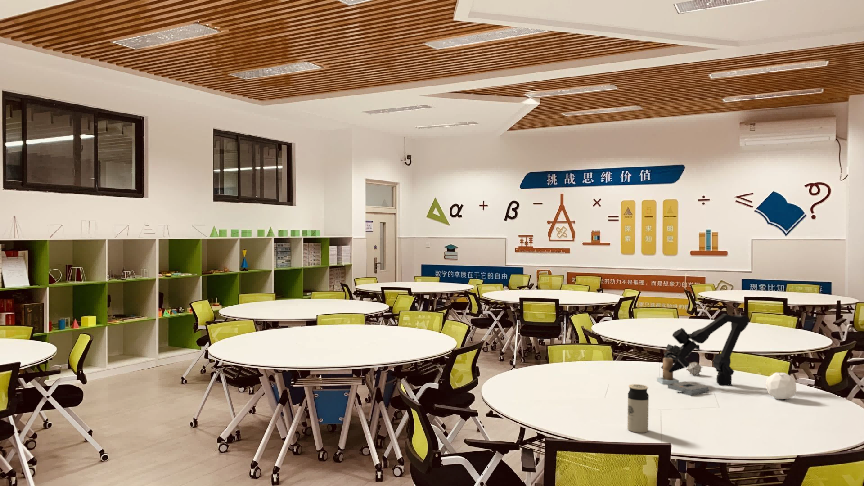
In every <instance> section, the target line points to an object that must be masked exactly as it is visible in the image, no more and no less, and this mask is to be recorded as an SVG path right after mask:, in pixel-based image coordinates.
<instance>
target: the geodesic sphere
mask: <svg viewBox="0 0 864 486" xmlns="http://www.w3.org/2000/svg"><path fill="white" fill-rule="evenodd" d="M765 387H766V390H767V392H768V394H769V395H770V396H772V397H773V399H776V400H779V399H787V400H789V399H791V398H792V397H794V396H795V394H796V392H797V382H796V381H795V379H794V378H793V377H792V376H791V375H790V374H788V373H786V372H779V371H778V372H776V371H775V372H774V373H773V374H771V375H769V376H768V377H767V379H766V380H765Z"/></svg>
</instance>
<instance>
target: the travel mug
mask: <svg viewBox="0 0 864 486" xmlns="http://www.w3.org/2000/svg"><path fill="white" fill-rule="evenodd" d="M628 388H629V391H628V393H627V430H628V431H630V432H632V433H639V434H641V433H642V434H643V433H644V434H645V433H647V432H648V431H649V397H650V395H649V393H648V389H649V387H648V385H645V384H639V383H638V384H636V383H635V384H634V383H632V384H629V385H628Z"/></svg>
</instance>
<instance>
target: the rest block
mask: <svg viewBox="0 0 864 486" xmlns="http://www.w3.org/2000/svg"><path fill="white" fill-rule="evenodd" d="M656 382H658V383H659V384H661V385H668V384H672V383H678V382H680V380H679V379H676V377H673V380H663V377H656Z"/></svg>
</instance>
